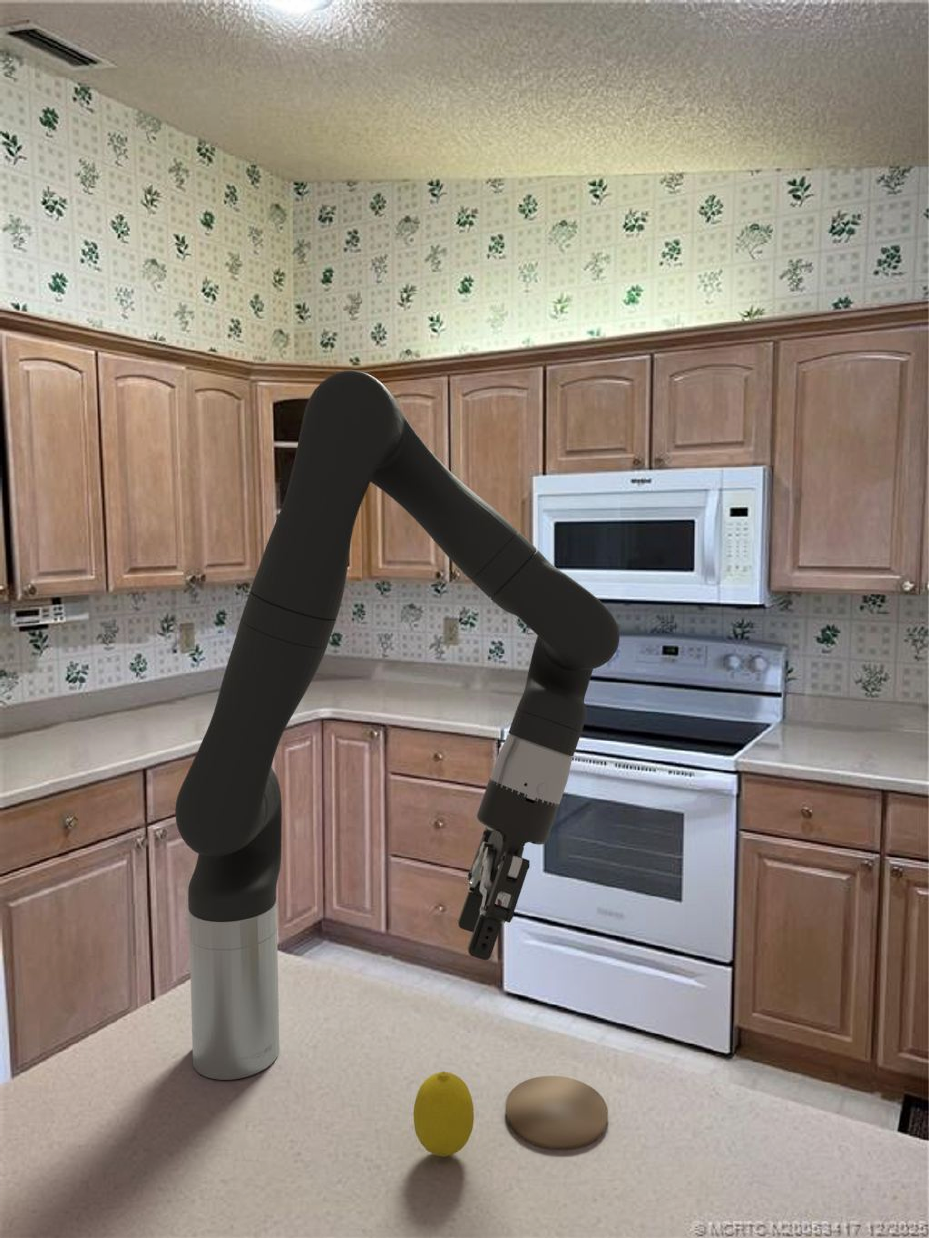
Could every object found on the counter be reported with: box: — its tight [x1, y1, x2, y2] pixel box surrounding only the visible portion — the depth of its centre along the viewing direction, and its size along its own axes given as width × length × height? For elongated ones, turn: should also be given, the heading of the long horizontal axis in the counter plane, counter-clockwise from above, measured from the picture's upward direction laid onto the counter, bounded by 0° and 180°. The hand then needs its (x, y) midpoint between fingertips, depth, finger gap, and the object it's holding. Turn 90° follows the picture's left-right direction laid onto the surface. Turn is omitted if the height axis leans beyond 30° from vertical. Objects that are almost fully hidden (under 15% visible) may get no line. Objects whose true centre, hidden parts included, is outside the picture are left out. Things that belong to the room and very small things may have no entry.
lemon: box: [413, 1071, 475, 1158], centre depth 80 cm, size 6×6×8 cm
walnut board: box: [505, 1075, 609, 1151], centre depth 86 cm, size 10×10×1 cm
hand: (471, 942), depth 87 cm, fingers open, 8 cm apart
